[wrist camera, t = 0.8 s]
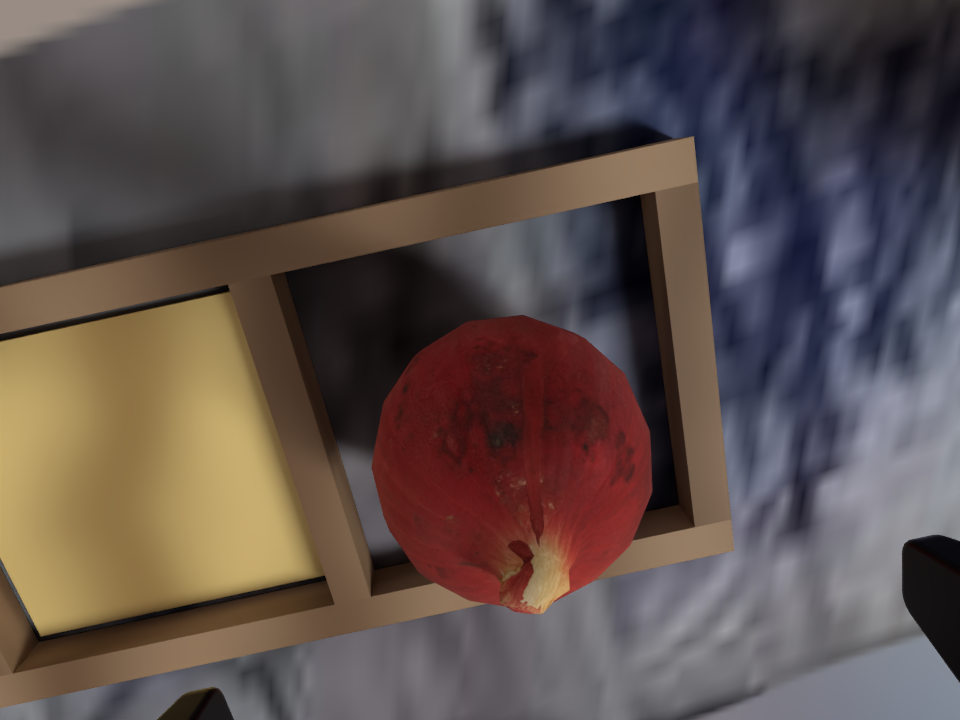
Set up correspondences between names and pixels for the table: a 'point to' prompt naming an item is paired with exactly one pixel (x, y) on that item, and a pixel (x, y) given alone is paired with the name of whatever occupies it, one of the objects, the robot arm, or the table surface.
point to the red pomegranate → (512, 462)
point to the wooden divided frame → (273, 435)
